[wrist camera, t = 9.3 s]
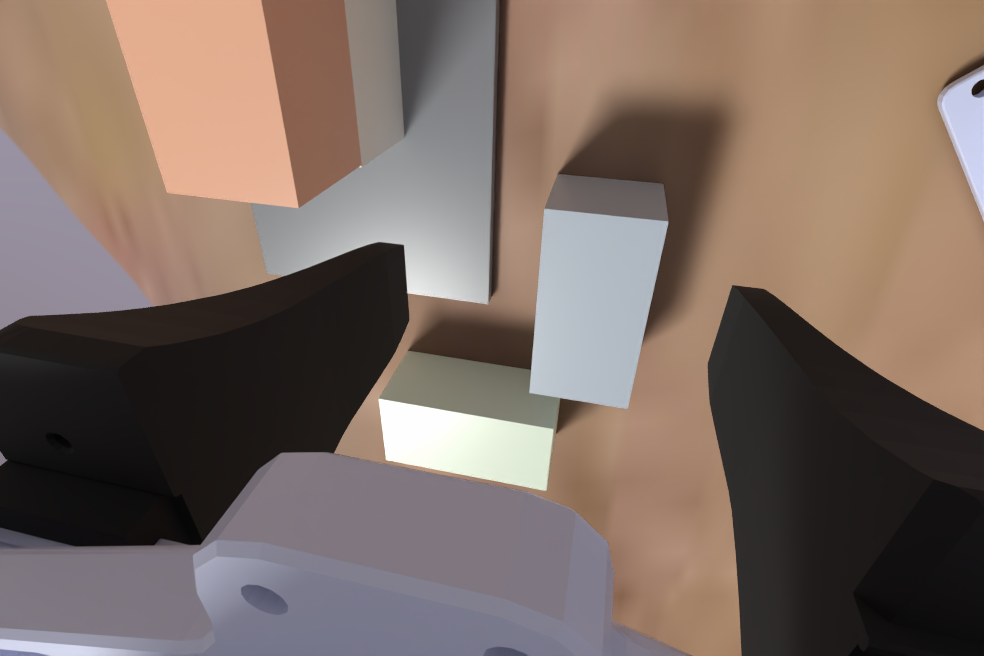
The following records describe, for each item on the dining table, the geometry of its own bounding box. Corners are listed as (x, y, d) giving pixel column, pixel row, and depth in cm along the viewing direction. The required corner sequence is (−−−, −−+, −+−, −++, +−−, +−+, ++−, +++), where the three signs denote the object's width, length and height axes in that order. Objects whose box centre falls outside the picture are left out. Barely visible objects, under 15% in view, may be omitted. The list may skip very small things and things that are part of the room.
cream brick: (269, -132, 17) (182, -158, 14) (387, -132, 16) (325, -159, 13) (310, 129, 21) (251, 156, 18) (404, 137, 21) (361, 167, 18)
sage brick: (413, 406, 30) (386, 459, 27) (408, 348, 28) (378, 398, 24) (556, 431, 28) (546, 490, 25) (563, 372, 26) (553, 429, 23)
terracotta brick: (182, -163, 14) (41, -205, 10) (326, -164, 13) (223, -211, 10) (251, 153, 18) (167, 192, 15) (361, 165, 17) (298, 208, 14)
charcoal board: (108, -472, 14) (89, -488, 14) (515, -524, 12) (510, -545, 12) (274, 268, 26) (267, 273, 26) (491, 297, 25) (488, 304, 24)
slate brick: (558, 172, 21) (544, 208, 18) (663, 182, 20) (668, 221, 17) (542, 339, 25) (529, 393, 22) (628, 351, 25) (627, 409, 22)
